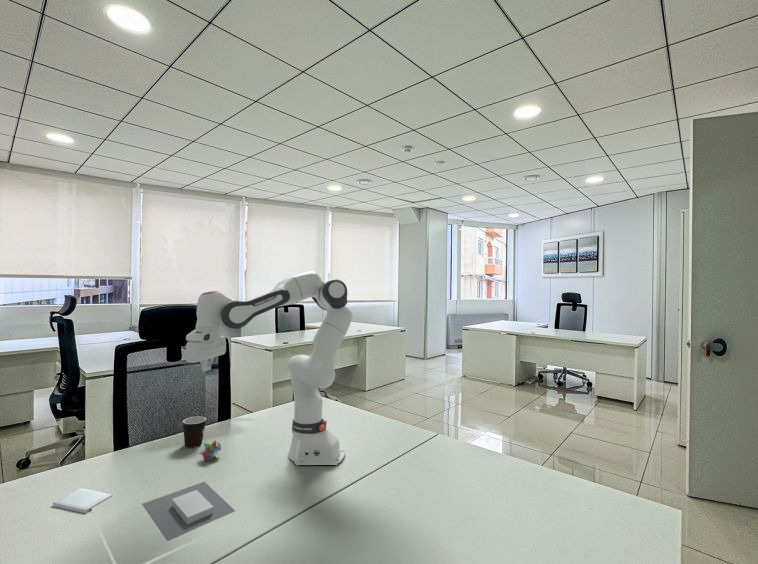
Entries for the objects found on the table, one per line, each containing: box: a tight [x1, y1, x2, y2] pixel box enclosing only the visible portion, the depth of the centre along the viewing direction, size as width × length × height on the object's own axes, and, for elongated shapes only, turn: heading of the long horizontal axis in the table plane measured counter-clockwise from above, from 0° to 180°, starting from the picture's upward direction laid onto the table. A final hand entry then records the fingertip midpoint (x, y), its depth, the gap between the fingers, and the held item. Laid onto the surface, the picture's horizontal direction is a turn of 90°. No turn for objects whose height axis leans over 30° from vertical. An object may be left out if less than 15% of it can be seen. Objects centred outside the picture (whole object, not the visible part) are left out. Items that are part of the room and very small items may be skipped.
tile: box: [172, 490, 213, 525], centre depth 105 cm, size 2×7×12 cm
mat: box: [141, 481, 236, 541], centre depth 106 cm, size 22×18×1 cm
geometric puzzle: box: [198, 440, 222, 462], centre depth 136 cm, size 7×7×8 cm
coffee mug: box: [182, 416, 207, 449], centre depth 150 cm, size 12×9×10 cm
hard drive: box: [52, 487, 114, 514], centre depth 108 cm, size 2×8×12 cm
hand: (206, 370), depth 135 cm, fingers closed
